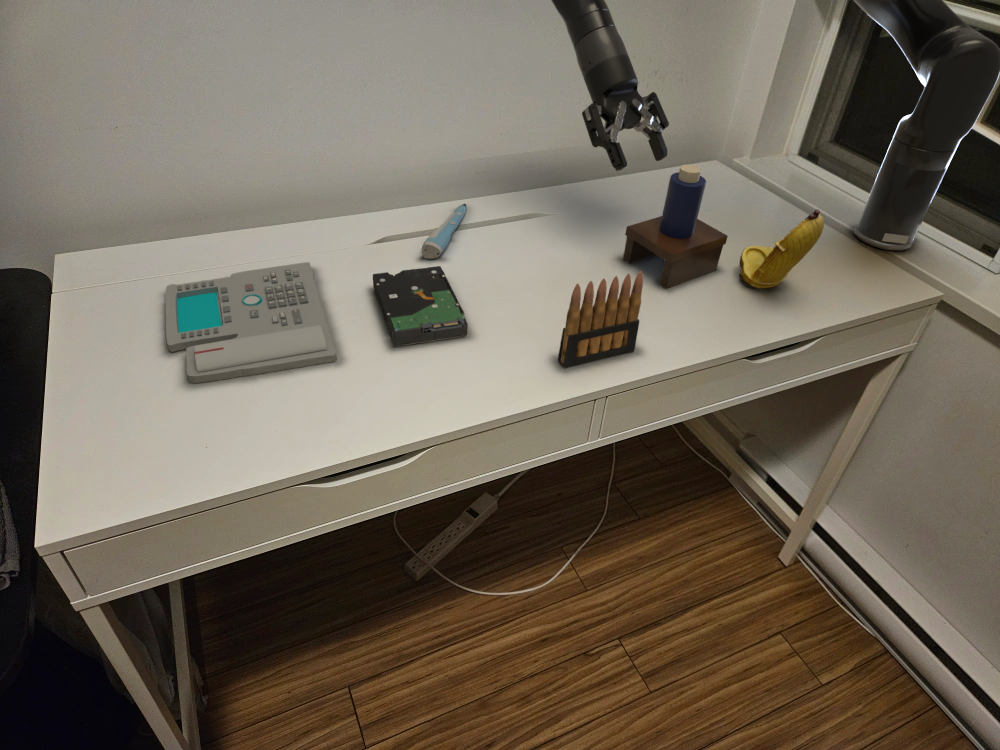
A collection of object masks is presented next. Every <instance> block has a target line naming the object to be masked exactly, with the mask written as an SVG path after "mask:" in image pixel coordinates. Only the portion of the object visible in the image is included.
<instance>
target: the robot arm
mask: <svg viewBox="0 0 1000 750" xmlns="http://www.w3.org/2000/svg"><path fill="white" fill-rule="evenodd" d="M550 1H551V3H552V5H553V6H554V8H555V10H556V11H557V13H558V14H559V16H560V17H561V19H562V21H563V22H564V25H565V28H566V31H567V34H568V37H569V39H570V42H571V45H572V47H573V49H574V53H575V57H576V61H577V64H578V68H579V71H580V72H581V76H582V78H583V81H584V84H585V87H586V89H587V91H588V94H589V97H590V99H591V104H589V105H588V106H587V107H585V109H584V110H582V112H581V116H582V119H583V122H584V125H585V128H586V131H587V135H588V137H589V140H590V143H591V146H592V147H593V148H598V147H599V148H602V149H603V150H605V151H606V154H607V157H608V159H609V162H610V164H611V166H612V167H613V168H614V169H615V171H616V172H619V171H622V170H623V169H625V168H626V167H627V166H628V161H627V159H626V156H625V154H624V151H623V148H622V146H621V143H620V142H618V141H619V140H618V139H619V134H620V132H622V131H623V130H632V129H633V130H635V131H636V132H638V133H642V134H643V135H644V136H645V137H646V138H648V140H647V142H648V144H649V147H650V149H651V152H652V155H653V157H654V160H655V161H656V162H659V161H662V160H664V159H665V158H667V157H668V147H667V144H666V142H665V140H664V137H663V134H662V133H663V132H664V130H665V129H667V128H668V127H669V126H670V122H669V120H668V117H667V115H666V112H665V111H664V109H663V106H662V104H661V102H660V99H659V97H658V94H657V93H656V92H655V91H651V92H650V93H649V94H648V95H645V96H642V95H641V94H640V93H639V91H638V85H639V80H638V77H637V74H636V72H635V69H634V67H633V63H632V61H631V59H630V56H629V52H628V50H627V47H626V45H625V43H624V40H623V39H622V37H621V35H620V33H619V31H618V29H617V26H616V24H615V21H614V19H613V16H612V13H611V10H610V8H609V6H608V4H607V3H606V0H550ZM852 1H853V2H854V3H855V4H856V5H857V6H858V7H859V8H860V9H861V10H862V11H863V12H864V13H865V14H866V15H867V16H869V17H870V18H871V19H872V20H873V21H875V22H876V23H877V24H878V25H879V26H881V27H882V28H883V29H884V30H886V32H887V33H888V34H889V35H890V36H891V37H892V38H893V40H894V41H895V42H896V44H897V45H898V47H899V48H900V49H901V51H902V53H903V54H904V56H905V58H906V59H907V61H908V63H909V64H910V65H911V68H912V69H913V70H914V72H915V74H916V76H917V78H918V80H919V81H920V83H921V84H922V85H923V91H922V93H921V95H920V97H919V99H918V102H917V103H916V106H915V108H914V110H913V112H912V113H911V114H907V115H905V116H903V117H902V118H901V119H900V120H899V122H898V124H897V127H896V129H895V132H894V134H893V136H892V139H891V141H890V144H889V146H888V149H887V151H886V154H885V156H884V159H883V161H882V163H881V166H880V168H879V171H878V172H877V176H876V178H875V180H874V183H873V185H872V188H871V190H870V191H869V192H870V193H869V195H868V197H867V200H866V202H865V205H864V207H863V209H862V212H861V215H860V217H859V219H858V221H857V223H856V225H855V227H854V230H853V233H854V236H855V237H856V238H857V239H859V240H860V241H862V242H863V243H864V244H867V245H870V246H872V247H874V248H878V249H881V250H886V251H905V250H908V249H910V248H911V247H912V245H913V243H914V241H915V237H916V235H917V233H918V231H919V229H920V227H921V225H922V223H923V222H924V219H925V217H926V215H927V212H928V211H929V208H930V205H931V204H932V201H933V199H934V197H935V195H936V193H937V191H938V189H939V187H940V185H941V183H942V181H943V178H944V176H945V174H946V172H947V170H948V168H949V166H950V163H951V161H952V159H953V157H954V155H955V153H956V151H957V148H958V147H959V145H960V143H961V141H962V140H963V139H964V138H965V136H967V135H968V134H969V133H970V131H971V130H972V129H973V127H974V126H975V124H976V122H977V120H978V119H979V116H980V115H981V113H982V111H983V109H984V107H985V105H986V103H987V101H988V99H989V98H990V96H991V94H992V92H993V90H994V89H995V86H996V84H997V82H998V79H999V77H1000V47H999V45H998V44H997V43H995V42H994V41H993V40H992V39H990V38H989V37H987V36H985V35H984V34H982V33H981V32H979V31H978V30H976V29H974V28H973V27H971V26H970V25H969V24H968V23H966V22H965V20H963V19H961V17H959V15H958V14H956V13H955V12H954V11H953V9H952V8H951V7H949V5H948V4H947V3H946V2H945V1H944V0H852ZM642 119H643V120H642ZM658 120H659V121H658ZM603 121H604V123H603Z"/></svg>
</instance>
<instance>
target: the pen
mask: <svg viewBox="0 0 1000 750" xmlns="http://www.w3.org/2000/svg"><path fill="white" fill-rule="evenodd" d="M466 211H467V204H466V203H463V204H460V205H459V206H457V207H456V208H455V209H454V211H453V212H452V213H451V214H450V215H449V216H448V218H447V219H446V220H445V221H444V222H443V223H442V224H441V225H440V226H438V227H436V228H434V229H433V230H432V231H431V232H430V234H429V235H428V237H427V238H426V239H425V241H424V242H423V244H422V248H421V251H420V253H421V255H422V257H424V258H425V259H429V260H430V259H437V258H438V257H440V256H441V255H442V254H443V252H444V251H445V250H446V248H447V246H448V245H449V243H450V242H451V238H452V235H453V234H454V232H456V229H457V228H458V226H459V224H460V223H461V221H462V219H463V217H464V216H465V215H466Z"/></svg>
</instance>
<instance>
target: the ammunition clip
mask: <svg viewBox="0 0 1000 750" xmlns="http://www.w3.org/2000/svg"><path fill="white" fill-rule="evenodd" d="M619 280H620V279H619V277H618V276H617V275H615V276H614V277H613V279H612V281H611V283H610V285H609V289H608V294H607V288H608V287H607V280H606V278H602V279H601V281H600V283H599V284H598V287H597V290H596V294H595V289H594V283H593V281H592V280H590V281H589V282H588V284H587V285H586V287H585V290H584V294H583V299H582V291H581V286H580V284H579V283H576V284H575V286H574V287H573V290H572V292H571V297H570V302H569V307H568V309H567V313H566V319H565V326H564V327H563V328H562V333H561V338H560V345H559V350H558V355H557V361H558V362H559V364H560V365H561V366H562V368H564V369H567V368H572V367H576V366H580V365H584V364H588V363H592V362H596V361H597V362H598V361H601V360H606V359H609V358H613V357H617V356H621V355H626V354H629V353H633V352H635V350H636V344H637V339H638V333H639V327H640V319H639V315H640V310H641V306H642V294H643V288H644V287H643V286H644V275H643V271H642V270H640V271H638V273H637V275H636V277H635V279H634V281H633V285H632V277H631V274H630V273H627V274H626V275H625V277H624V279H623V282H622V284H621V287H620V283H619ZM619 290H620V291H619ZM594 295H595V299H594ZM581 300H582V301H581ZM581 303H582V304H581Z"/></svg>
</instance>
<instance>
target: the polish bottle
mask: <svg viewBox="0 0 1000 750" xmlns="http://www.w3.org/2000/svg"><path fill="white" fill-rule="evenodd" d="M701 174H702V168H700V167H699V166H698V165H694V164H682V165H681V166H680V167H679V171H678V172H677V171H676V172H673V173H672V174H671V175H670V177H669V182H668V187H667V191H666V196H665V201H664V205H663V210H662V215H661V216H662V219H661V224H660V231H661V232H662V233H663V234H665V235H667V236H669V237H672V238H679V239H684V238H689V237H691V236H692V235H693V233H694V229H695V225H696V221H697V219H698V217H699V213H700V209H701V205H702V202H703V197H704V193H705V190H706V186H707V180H706V178H704V176H702V175H701Z"/></svg>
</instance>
